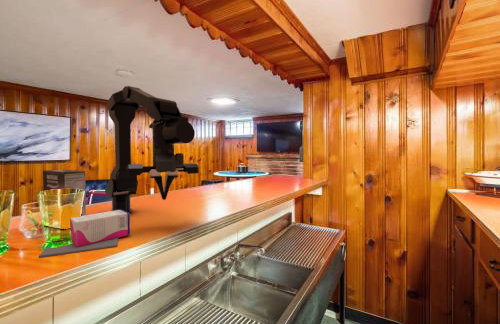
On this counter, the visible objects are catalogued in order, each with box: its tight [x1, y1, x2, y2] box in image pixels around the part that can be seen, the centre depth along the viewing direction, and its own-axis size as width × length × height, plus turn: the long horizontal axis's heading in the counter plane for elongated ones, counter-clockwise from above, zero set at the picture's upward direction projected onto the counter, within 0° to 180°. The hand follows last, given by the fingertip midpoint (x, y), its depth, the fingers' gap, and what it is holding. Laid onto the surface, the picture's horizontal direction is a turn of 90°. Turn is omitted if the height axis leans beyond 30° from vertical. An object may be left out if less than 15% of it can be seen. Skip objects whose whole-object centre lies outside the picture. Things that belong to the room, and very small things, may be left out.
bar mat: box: [38, 237, 120, 259], centre depth 60 cm, size 16×14×1 cm
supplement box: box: [70, 210, 131, 247], centre depth 60 cm, size 6×6×12 cm
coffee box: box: [42, 169, 87, 216], centre depth 70 cm, size 9×6×16 cm
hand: (163, 199), depth 69 cm, fingers closed
